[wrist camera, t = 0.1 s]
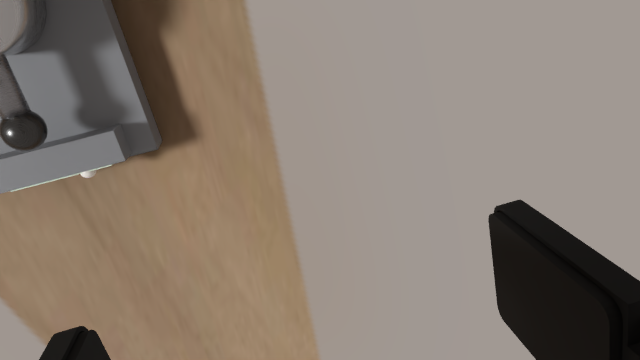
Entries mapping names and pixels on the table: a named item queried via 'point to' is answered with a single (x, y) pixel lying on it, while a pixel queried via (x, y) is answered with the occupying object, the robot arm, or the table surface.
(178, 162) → the table surface
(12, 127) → the capstan
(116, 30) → the stand
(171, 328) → the table surface
